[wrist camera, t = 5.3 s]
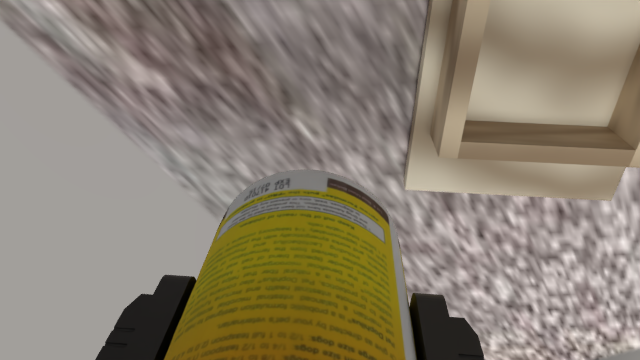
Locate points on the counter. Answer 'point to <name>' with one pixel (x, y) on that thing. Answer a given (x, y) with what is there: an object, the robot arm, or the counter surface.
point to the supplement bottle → (300, 278)
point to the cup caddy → (527, 98)
